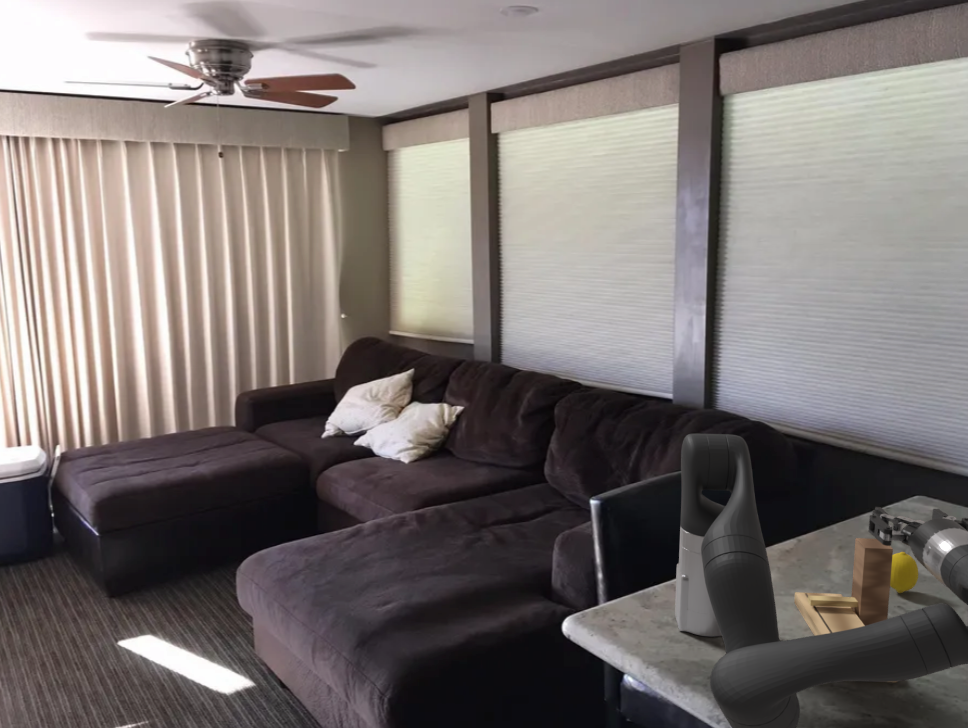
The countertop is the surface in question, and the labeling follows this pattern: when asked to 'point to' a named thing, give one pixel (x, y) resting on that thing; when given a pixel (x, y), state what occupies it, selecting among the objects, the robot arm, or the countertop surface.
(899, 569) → the lemon
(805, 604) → the board
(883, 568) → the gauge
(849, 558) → the countertop surface
